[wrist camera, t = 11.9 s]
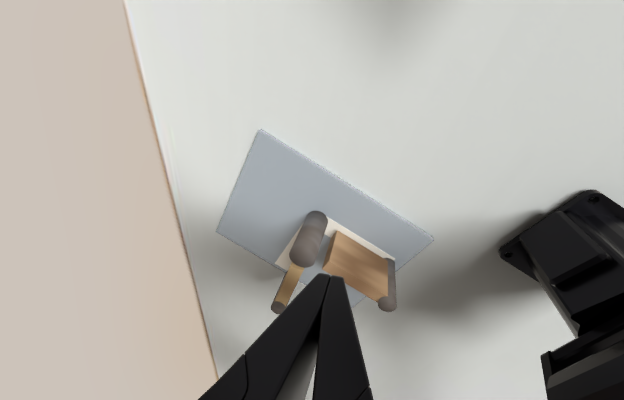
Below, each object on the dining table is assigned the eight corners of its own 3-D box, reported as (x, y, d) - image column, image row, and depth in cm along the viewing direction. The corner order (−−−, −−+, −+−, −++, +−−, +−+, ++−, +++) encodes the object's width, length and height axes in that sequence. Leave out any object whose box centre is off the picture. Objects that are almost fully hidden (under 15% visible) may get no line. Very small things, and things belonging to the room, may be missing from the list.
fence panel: (302, 234, 21) (287, 267, 18) (315, 240, 21) (303, 274, 18) (284, 276, 24) (269, 310, 21) (295, 281, 24) (282, 316, 21)
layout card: (432, 237, 19) (433, 240, 19) (349, 306, 26) (349, 310, 25) (260, 128, 18) (258, 130, 18) (218, 229, 25) (215, 231, 24)
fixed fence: (400, 257, 21) (403, 306, 17) (386, 268, 22) (386, 318, 18) (314, 204, 20) (296, 242, 16) (303, 218, 21) (284, 258, 17)
